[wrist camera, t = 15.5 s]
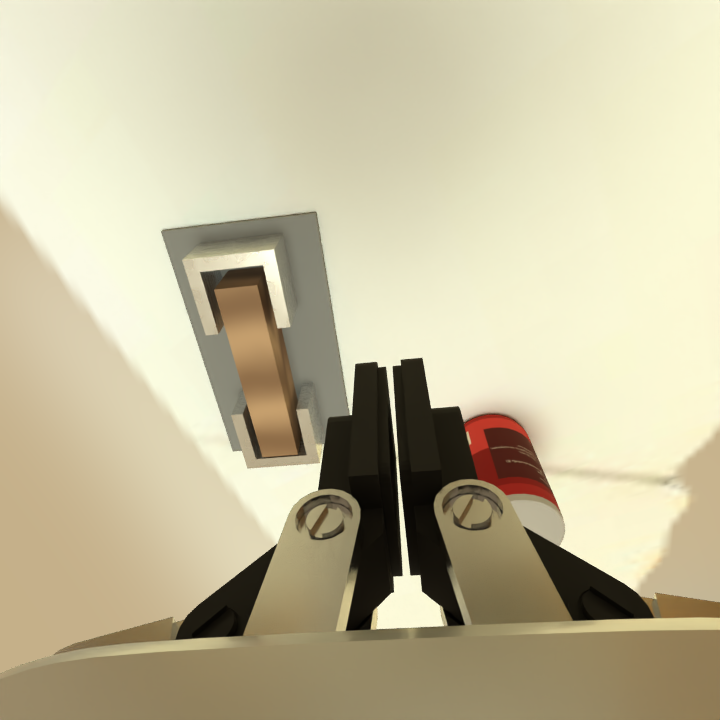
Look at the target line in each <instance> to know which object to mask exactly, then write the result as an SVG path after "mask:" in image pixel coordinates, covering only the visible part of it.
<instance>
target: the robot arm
mask: <svg viewBox="0 0 720 720" xmlns="http://www.w3.org/2000/svg"><path fill="white" fill-rule="evenodd" d="M393 379H394V394H395V410H396V425H397V441H398V457H399V471H400V482H401V491H402V501H403V510H404V519H405V529H406V538H407V547H408V557H409V566H410V575H421V585H422V592H424V593H425V594H426V595H427V596H429V597H430V598H431V599H433V600H434V601H435V602H436V603H438V604H439V605H440V610H441V617H442V621H443V624H444V626H442V627H420V628H397V629H376V626H377V620H378V613H377V607H378V606H379V605H380V604H381V603H382V602H383V601H384V600H385V599H386V598H387V597H388V596H389V595H390V594H391V593H393V592H394V583H393V576H402V555H401V538H400V520H399V503H398V485H397V468H396V454H395V444H394V435H393V426H392V417H391V408H390V398H389V389H388V380H387V371H386V367H379V368H378V364H377V362H371V363H360V364H355V378H354V393H353V409H352V415H348V416H336V417H329V418H328V421H327V428H326V435H325V443H324V450H323V458H322V465H321V473H320V480H319V488H318V491H315V492H312V493H310V494H308V495H306V496H305V497H303V498H301V499H300V500H299V501H298V502H297V503H296V504H295V505H294V506H293V508H292V509H291V511H290V513H289V515H288V517H287V520H286V523H285V525H284V528H283V531H282V533H281V536H280V539H279V541H278V544H276V545H275V546H274V547H273V548H271V549H270V550H269V551H268V552H266V553H265V554H264V555H262V556H261V557H260V558H258V559H257V560H256V561H255V562H253V563H252V564H251V565H249V566H248V567H247V568H246V569H244V570H243V571H242V572H240V573H239V574H238V575H236V576H235V577H234V578H233V579H231V580H230V581H229V582H227V583H226V584H225V585H224V586H222V587H221V588H220V589H219V590H217V591H216V592H215V593H213V594H212V595H211V596H209V597H208V598H207V599H206V600H204V601H203V602H202V603H200V604H199V605H198V606H197V607H196V608H195V609H194V610H193V611H192V612H190V614H188V615H187V617H186V618H185V620H182V621H178V622H176V621H175V620H174V617H170V618H167V619H163V620H159V621H155V622H152V623H148V624H144V625H141V626H137V627H133V628H130V629H126V630H122V631H119V632H115V633H111V634H108V635H104V636H100V637H97V638H93V639H89V640H86V641H82V642H78V643H75V644H72V645H70V646H67V647H65V648H63V649H61V650H59V651H58V652H56V653H55V654H54V655H52V656H49V657H46V658H42V659H39V660H35V661H32V662H29V663H26V664H22V665H20V666H17V667H15V668H12V669H10V670H8V671H5V672H3V673H1V674H0V720H720V602H714V601H707V600H700V599H693V598H687V597H681V596H674V595H667V594H660V593H655V595H654V599H652V598H645V597H640V596H639V595H638V594H637V593H636V592H635V591H633V590H632V589H631V588H629V587H628V586H627V585H625V584H624V583H622V582H620V581H618V580H617V579H615V578H613V577H612V576H610V575H608V574H606V573H605V572H603V571H601V570H599V569H598V568H596V567H594V566H592V565H591V564H589V563H587V562H585V561H584V560H582V559H580V558H578V557H577V556H575V555H573V554H571V553H570V552H568V551H566V550H564V549H563V548H561V547H559V546H557V545H556V544H554V543H552V542H550V541H549V540H547V539H545V538H543V537H542V536H540V535H538V534H537V533H535V532H533V531H531V530H530V529H528V528H526V527H524V526H523V525H522V523H521V521H520V519H519V517H518V516H517V514H516V512H515V510H514V508H513V506H512V504H511V502H510V500H509V499H508V498H507V496H506V495H505V494H504V492H503V491H501V490H500V489H499V488H497V487H496V486H494V485H492V484H490V483H487V482H485V481H481V480H478V477H477V473H476V469H475V465H474V461H473V458H472V454H471V450H470V446H469V442H468V438H467V434H466V430H465V426H464V422H463V419H462V415H461V411H460V408H459V407H458V406H457V407H445V408H433V409H431V406H430V400H429V394H428V388H427V382H426V376H425V371H424V365H423V359H422V358H415V359H404V360H401V366H393Z"/></svg>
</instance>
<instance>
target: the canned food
mask: <svg viewBox="0 0 720 720" xmlns="http://www.w3.org/2000/svg"><path fill="white" fill-rule="evenodd" d="M464 426H465V430H466V434H467V438H468V442H469V446H470V450H471V454H472V458H473V461H474V465H475V469H476V473H477V477H478V480H481V481H485V482H487V483H490V484H492V485H494V486H496V487H497V488H499V489H500V490H501V491H503V492H504V494H505V495H506V496H507V498H508V499H509V500H510V502H511V504H512V506H513V508H514V510H515V512H516V514H517V516H518V517H519V519H520V521H521V523H522V525H523V526H524V527H526V528H528V529H530V530H531V531H533V532H535V533H537V534H538V535H540V536H542V537H543V538H545V539H547V540H549V541H550V542H552V543H554V544H556V545H557V546H559V545H560V544H561V542H562V540H563V538H564V534H565V524H564V521H563V517H562V514H561V512H560V509H559V507H558V504H557V502H556V499H555V497H554V495H553V492H552V490H551V488H550V485H549V483H548V481H547V479H546V476H545V474H544V472H543V469H542V467H541V465H540V462H539V460H538V458H537V455H536V453H535V451H534V449H533V446H532V444H531V442H530V439H529V437H528V435H527V433H526V432H525V430H524V429H523V428H522V427H521V426H520V425H519V424H518V423H516V422H515V421H514V420H512V419H510V418H509V417H505V416H502V415H495V414H494V415H484V416H479V417H476V418H474V419H471V420H470V421H468V422H466V423H465V424H464Z"/></svg>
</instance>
